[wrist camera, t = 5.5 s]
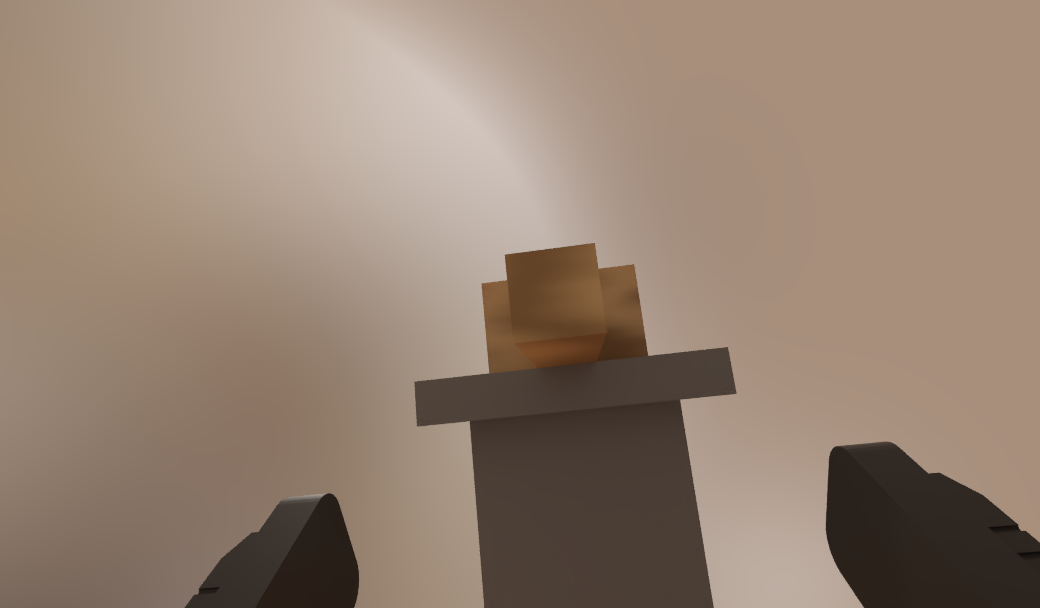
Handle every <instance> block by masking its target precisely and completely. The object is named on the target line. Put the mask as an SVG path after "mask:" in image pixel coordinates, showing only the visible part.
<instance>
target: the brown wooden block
mask: <svg viewBox="0 0 1040 608" xmlns="http://www.w3.org/2000/svg"><path fill="white" fill-rule="evenodd" d="M505 261H506V272H507V280H506V281H499V282H490V283H483V284H482V294H483V305H484V317H485V328H486V339H487V350H488V363H489V374H490V373H499V372H508V371H517V370H526V369H535V368H544V367H553V366H562V365H571V364H580V363H589V362H598V361H607V360H617V359H626V358H635V357H644V356H648V352H647V346H646V339H645V333H644V326H643V319H642V313H641V307H640V300H639V294H638V287H637V280H636V274H635V267H634V264H633V265H626V266H618V267H610V268H602V269H598V263H597V256H596V249H595V243H591V244H584V245H576V246H568V247H562V248H553V249H545V250H538V251H531V252H523V253H515V254H507V255H505Z"/></svg>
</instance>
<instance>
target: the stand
mask: <svg viewBox="0 0 1040 608" xmlns="http://www.w3.org/2000/svg"><path fill="white" fill-rule="evenodd" d="M729 394H736V389H735V383H734V378H733V372H732V368H731V361H730V356H729V351H728V347H725V348H717V349H707V350H698V351H689V352H680V353H672V354H662V355H653V356H644V357H635V358H626V359H617V360H607V361H598V362H589V363H580V364H571V365H562V366H553V367H544V368H535V369H526V370H517V371H508V372H499V373H490V374H481V375H472V376H463V377H454V378H446V379H445V378H444V379H436V380H426V381H417V382H415V399H416V415H417V426H426V425H436V424H445V423H456V422H465V421H470V430H471V442H472V454H473V466H474V467H473V468H474V481H475V494H476V506H477V519H478V531H479V545H480V556H481V570H482V583H483V594H484V595H483V596H484V608H714V607H713V601H712V595H711V589H710V583H709V576H708V570H707V564H706V558H705V552H704V545H703V539H702V533H701V527H700V521H699V515H698V509H697V502H696V496H695V490H694V484H693V477H692V471H691V465H690V459H689V453H688V447H687V440H686V435H685V428H684V423H683V416H682V410H681V403H680V399H690V398H700V397H709V396H719V395H729Z"/></svg>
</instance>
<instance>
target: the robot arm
mask: <svg viewBox="0 0 1040 608" xmlns="http://www.w3.org/2000/svg"><path fill="white" fill-rule="evenodd" d="M826 534H827V540H828V544H829V548H830V551H831V554H832V556H833V559H834V561H835V563H836V565H837V567H838V569H839V571H840V572H841V574H842V575H843V577H844V578H845V580H846V581H847V583H848V584H849V586H850V587H851V589H852V590H853V592H854V593H855V595H856V596H857V598H858V599H859V601H860V602H861V604H862V605H863V607H864V608H1040V543H1039V542H1038V541H1037V540H1036V539H1035V538H1033V537H1032V536H1031V535H1030V534H1029V533H1027V532H1026V531H1021V530H1020V529H1019V527H1018V524H1017V523H1016V522H1014V521H1013V520H1012V519H1011V518H1010V517H1008V516H1007V515H1006V514H1005V513H1004V512H1002V511H1001V510H1000V509H999V508H998V507H996V506H995V505H994V504H993V503H992V502H990V501H989V500H988V499H987V498H986V497H984V496H983V495H981V494H979V493H978V492H976V491H973V490H972V489H970V488H968V487H966V486H964V485H962V484H960V483H958V482H956V481H954V480H952V479H950V478H948V477H946V476H944V475H942V474H941V473H931V474H928V473H927V472H926V471H925V470H924V469H923V468H921V467H920V466H919V465H918V464H917V463H916V462H915V461H914V460H912V459H911V458H910V457H909V456H908V455H907V454H906V453H905V452H903V450H901V449H900V448H899V447H898V446H897V445H895V444H893V443H891V442H878V443H867V444H856V445H846V446H836V447H834V448H833V449H832V451H831V453H830V456H829V471H828V492H827V512H826ZM358 588H359V570H358V565H357V561H356V558H355V554H354V551H353V548H352V545H351V541H350V538H349V535H348V532H347V528H346V525H345V522H344V518H343V516H342V512H341V509H340V506H339V503H338V501H337V499H336V497H335V496H334V495H333V494H330V493H327V494H317V495H307V496H296V497H287V498H285V499H283V500H282V501H280V503H279V504H278V505H277V506H276V508H275V509H274V511H273V512H272V514H271V515H270V516H269V518H268V519H267V521H266V522H265V523H264V525H263V526H262V528H261V529H260V531H259V532H255V533H251V534H250V535H249V536H247V537H246V538H245V539H244V540H243V541H242V542H240V543H239V544H238V545H237V546H236V547H235V548H233V549H232V550H231V551H230V552H229V553H227V554H226V555H225V556H224V557H223V558H221V560H220V561H219V562H218V564H217V565H216V566H215V568H214V569H213V571H212V572H211V573H210V574H209V576H208V577H207V579H206V580H205V581H204V582H203V584H202V585H201V586H200V588H199V593H198V595H194V596H193V597H192V599H191V600H190V601H189V603H188V604H187V605H186V607H185V608H354V606H355V603H356V600H357V595H358Z"/></svg>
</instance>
